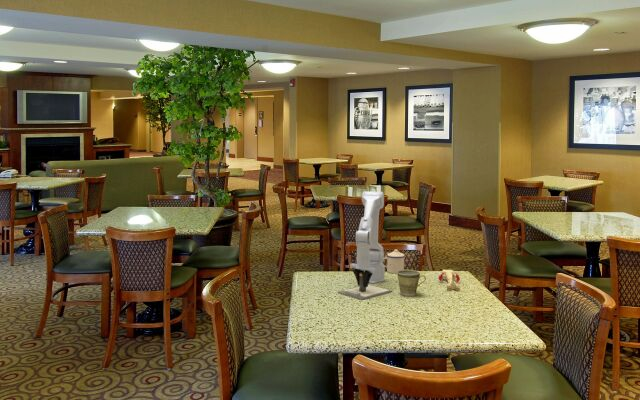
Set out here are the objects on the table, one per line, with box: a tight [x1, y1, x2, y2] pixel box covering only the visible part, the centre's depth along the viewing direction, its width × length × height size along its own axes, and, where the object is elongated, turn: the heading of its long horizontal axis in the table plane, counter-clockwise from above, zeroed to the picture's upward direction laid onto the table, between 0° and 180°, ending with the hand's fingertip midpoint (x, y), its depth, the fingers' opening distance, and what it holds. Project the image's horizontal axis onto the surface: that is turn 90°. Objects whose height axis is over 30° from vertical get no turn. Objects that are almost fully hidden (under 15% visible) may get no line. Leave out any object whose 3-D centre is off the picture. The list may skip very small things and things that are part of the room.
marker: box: [358, 273, 366, 292], centre depth 269 cm, size 3×3×8 cm
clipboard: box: [337, 284, 393, 301], centre depth 270 cm, size 20×15×2 cm
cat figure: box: [437, 269, 461, 292], centre depth 285 cm, size 10×9×25 cm
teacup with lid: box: [382, 249, 406, 275], centre depth 310 cm, size 12×9×12 cm
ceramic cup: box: [396, 269, 427, 297], centre depth 267 cm, size 13×10×10 cm
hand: (362, 286), depth 269 cm, fingers closed on marker, 3 cm apart
